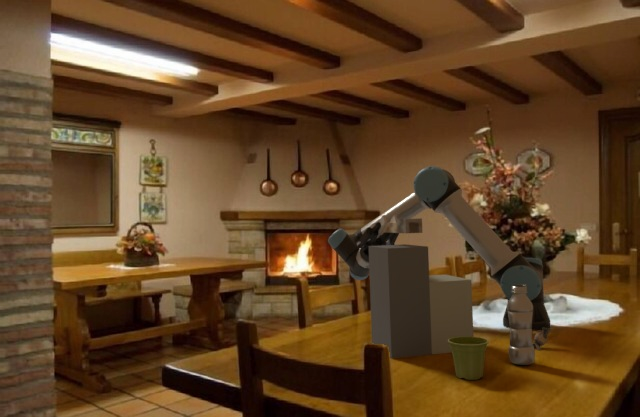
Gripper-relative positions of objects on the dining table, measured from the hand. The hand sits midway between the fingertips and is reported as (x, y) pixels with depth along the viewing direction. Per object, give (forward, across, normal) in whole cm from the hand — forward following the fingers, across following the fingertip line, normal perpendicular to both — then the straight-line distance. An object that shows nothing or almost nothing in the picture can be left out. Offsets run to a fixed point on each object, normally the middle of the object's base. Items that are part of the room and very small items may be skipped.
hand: (390, 218), depth 169 cm
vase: (0, -36, -44) cm, 57 cm away
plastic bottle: (+11, -20, -51) cm, 56 cm away
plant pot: (+15, -3, -53) cm, 55 cm away
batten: (+1, 0, -5) cm, 5 cm away
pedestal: (-11, -4, -38) cm, 40 cm away
